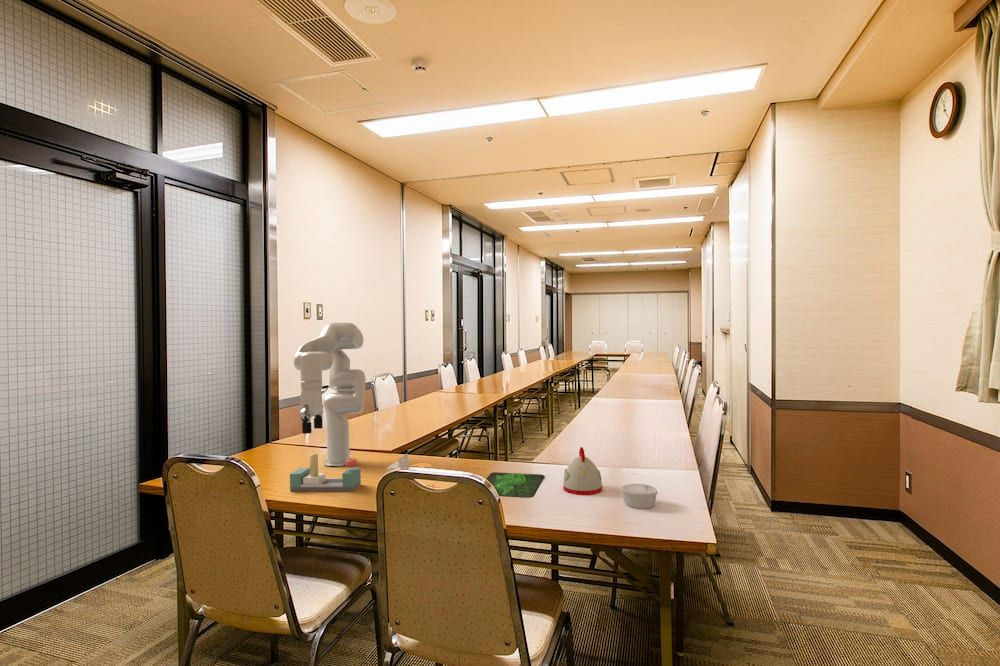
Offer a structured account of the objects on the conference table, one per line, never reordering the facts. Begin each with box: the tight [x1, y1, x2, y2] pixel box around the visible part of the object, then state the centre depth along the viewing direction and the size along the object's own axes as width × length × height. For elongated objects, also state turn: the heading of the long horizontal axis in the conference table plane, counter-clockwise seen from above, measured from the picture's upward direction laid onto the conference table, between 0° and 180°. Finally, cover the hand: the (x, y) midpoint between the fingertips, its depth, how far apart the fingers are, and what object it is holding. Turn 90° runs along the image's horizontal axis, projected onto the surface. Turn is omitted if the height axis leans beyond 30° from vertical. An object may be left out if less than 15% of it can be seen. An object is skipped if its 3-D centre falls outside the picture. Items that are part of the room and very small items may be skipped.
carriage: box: [303, 453, 326, 484], centre depth 192 cm, size 6×6×11 cm
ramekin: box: [621, 483, 658, 510], centre depth 166 cm, size 11×11×5 cm
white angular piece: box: [386, 453, 410, 473], centre depth 179 cm, size 9×5×15 cm, turn 168°
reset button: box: [345, 458, 358, 468], centre depth 191 cm, size 4×4×2 cm
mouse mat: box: [485, 471, 545, 499], centre depth 190 cm, size 27×22×1 cm
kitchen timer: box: [563, 446, 603, 496], centre depth 183 cm, size 14×14×15 cm
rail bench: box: [289, 467, 362, 492], centre depth 192 cm, size 8×24×6 cm, turn 86°
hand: (312, 430), depth 192 cm, fingers open, 9 cm apart
